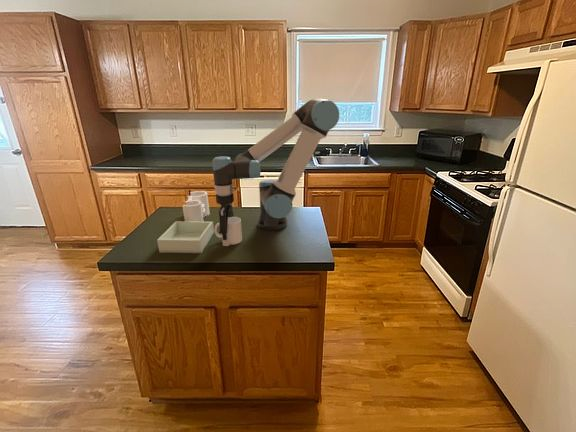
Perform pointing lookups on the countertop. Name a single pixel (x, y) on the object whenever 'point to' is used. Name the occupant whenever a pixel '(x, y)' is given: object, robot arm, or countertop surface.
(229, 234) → the cup
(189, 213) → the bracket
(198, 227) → the tub
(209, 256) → the countertop surface
